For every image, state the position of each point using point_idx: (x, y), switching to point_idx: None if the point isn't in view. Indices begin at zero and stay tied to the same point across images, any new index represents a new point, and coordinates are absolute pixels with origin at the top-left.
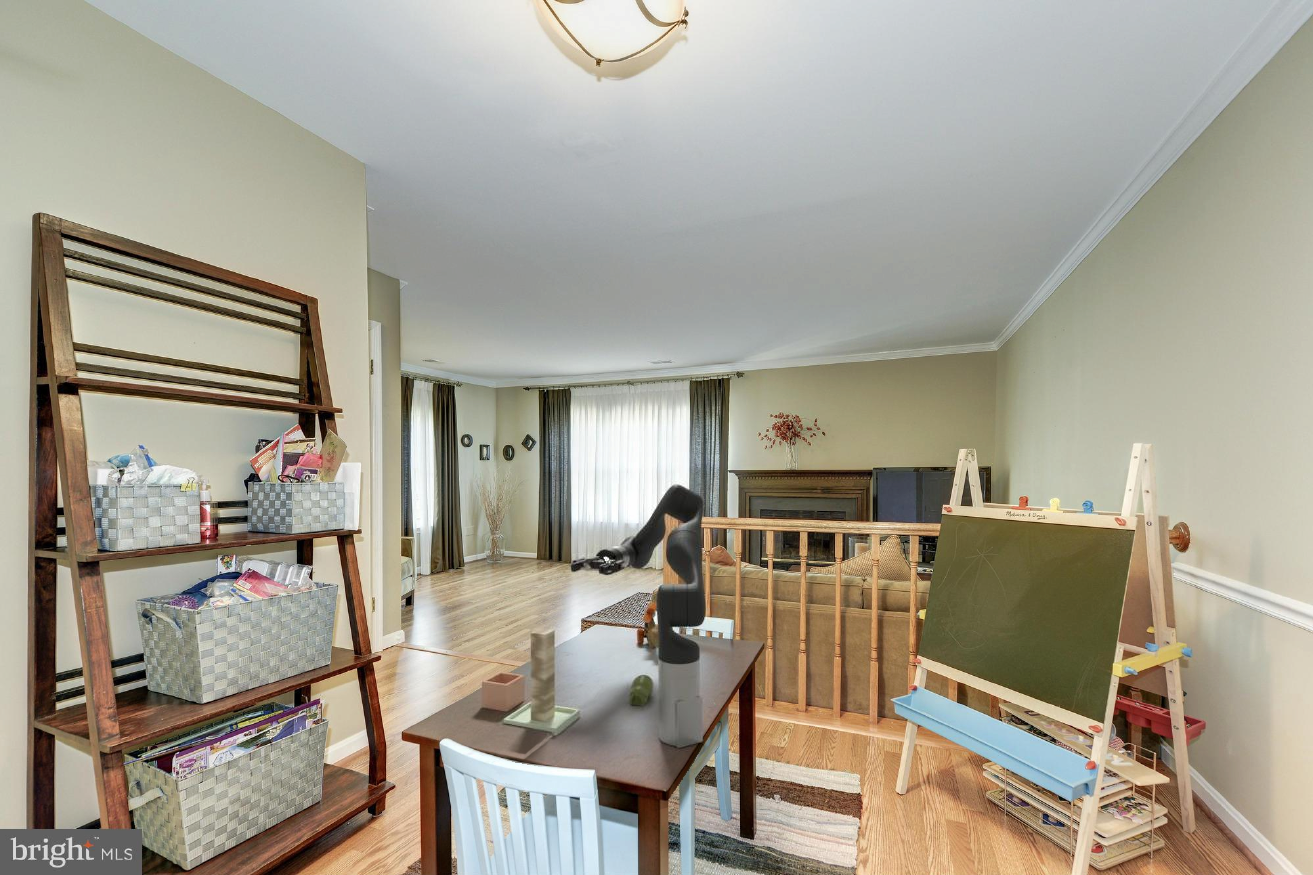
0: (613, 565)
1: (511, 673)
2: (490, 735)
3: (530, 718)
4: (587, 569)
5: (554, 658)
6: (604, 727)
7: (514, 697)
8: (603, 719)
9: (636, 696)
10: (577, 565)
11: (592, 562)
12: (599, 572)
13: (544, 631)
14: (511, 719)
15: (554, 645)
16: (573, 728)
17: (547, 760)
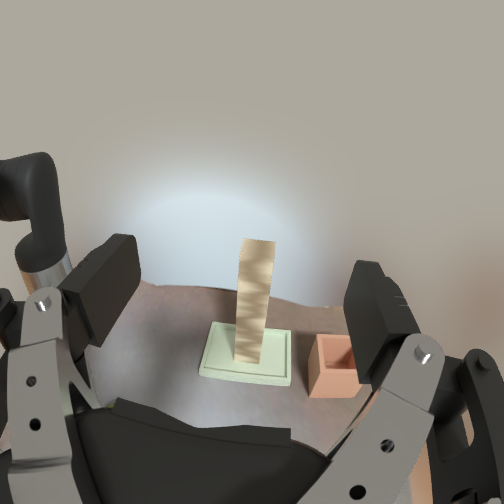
0: (24, 303)
1: (347, 373)
2: (288, 318)
3: (263, 348)
4: (325, 454)
5: (237, 298)
6: (157, 351)
7: (312, 365)
8: (162, 371)
9: (113, 404)
10: (367, 314)
11: (275, 431)
12: (138, 271)
13: (255, 248)
14: (280, 331)
15: (238, 279)
16: (197, 345)
17: (202, 291)
